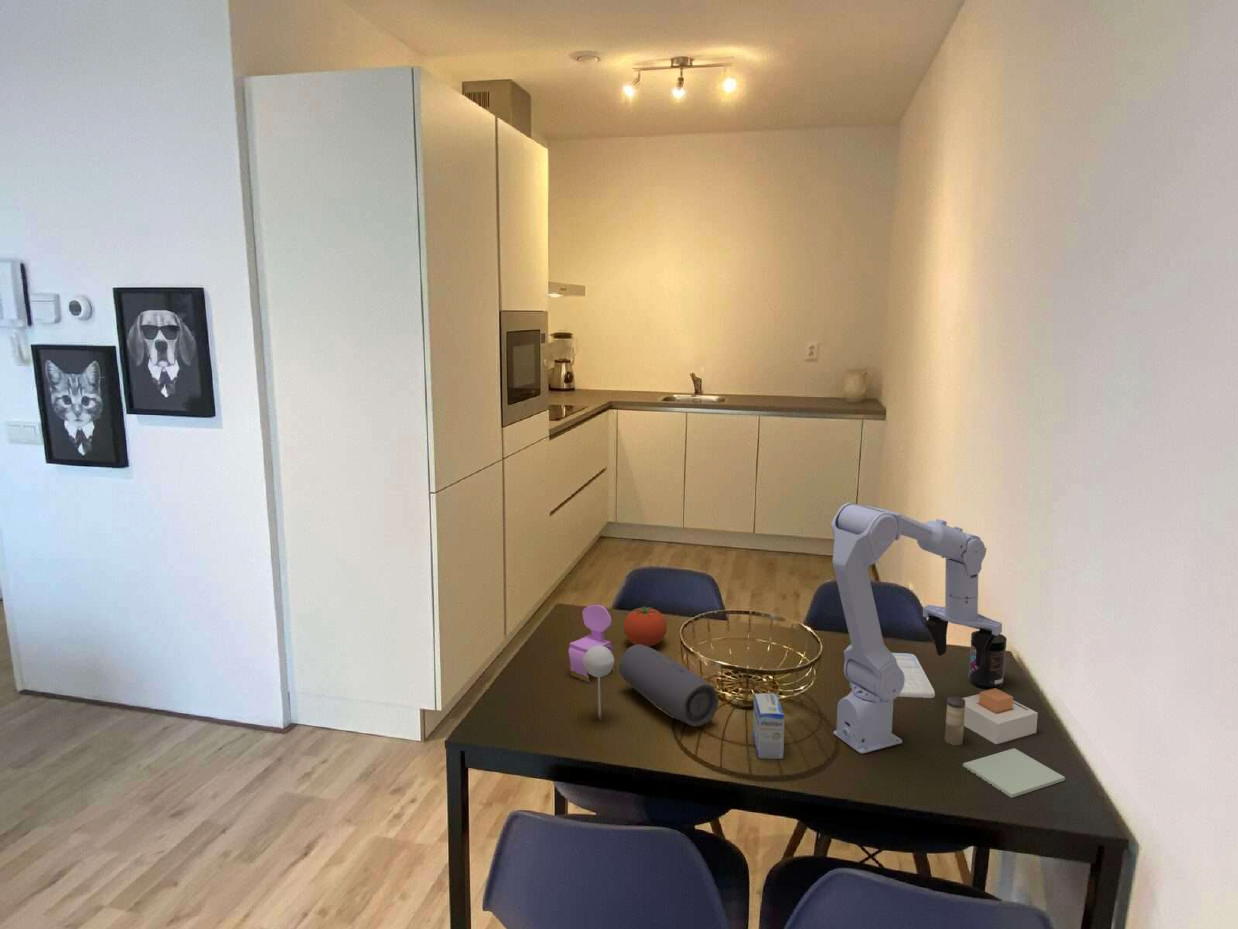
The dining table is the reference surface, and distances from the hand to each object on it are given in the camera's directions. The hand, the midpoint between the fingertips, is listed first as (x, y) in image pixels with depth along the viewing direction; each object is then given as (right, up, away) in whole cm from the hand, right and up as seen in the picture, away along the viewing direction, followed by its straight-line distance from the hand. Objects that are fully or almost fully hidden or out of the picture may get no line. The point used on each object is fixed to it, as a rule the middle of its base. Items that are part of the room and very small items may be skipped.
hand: (960, 659), depth 153 cm
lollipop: (-70, -12, +1) cm, 71 cm away
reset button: (+4, -8, -5) cm, 10 cm away
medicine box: (-39, -14, -10) cm, 43 cm away
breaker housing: (+5, -12, -4) cm, 13 cm away
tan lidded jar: (-5, -13, -9) cm, 16 cm away
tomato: (-60, -6, +36) cm, 70 cm away
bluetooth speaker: (-57, -11, +5) cm, 58 cm away
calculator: (-7, -9, +18) cm, 21 cm away
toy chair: (-72, -9, +21) cm, 76 cm away
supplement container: (+11, -9, +14) cm, 20 cm away
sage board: (0, -14, -20) cm, 24 cm away
